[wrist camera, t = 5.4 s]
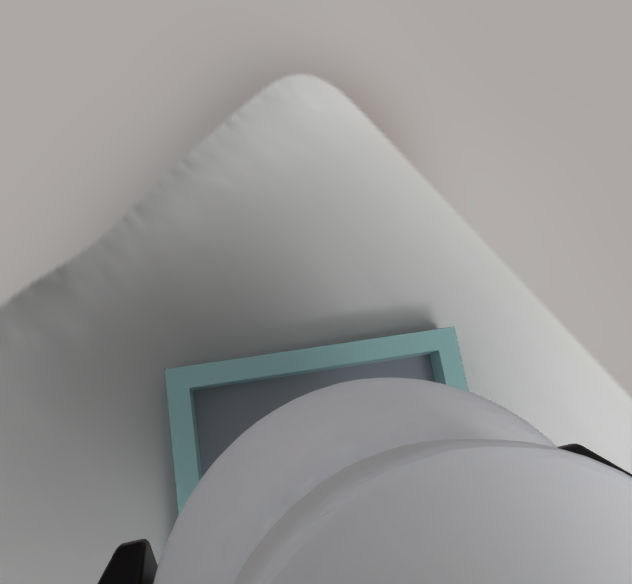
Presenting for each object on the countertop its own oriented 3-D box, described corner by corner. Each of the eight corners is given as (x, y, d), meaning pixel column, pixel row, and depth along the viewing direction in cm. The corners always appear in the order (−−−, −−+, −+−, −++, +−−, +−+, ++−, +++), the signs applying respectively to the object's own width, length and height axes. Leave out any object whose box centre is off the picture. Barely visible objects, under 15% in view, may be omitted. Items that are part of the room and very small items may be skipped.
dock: (504, 625, 20) (524, 640, 19) (202, 695, 19) (198, 716, 17) (441, 333, 23) (454, 326, 21) (170, 373, 21) (164, 369, 20)
